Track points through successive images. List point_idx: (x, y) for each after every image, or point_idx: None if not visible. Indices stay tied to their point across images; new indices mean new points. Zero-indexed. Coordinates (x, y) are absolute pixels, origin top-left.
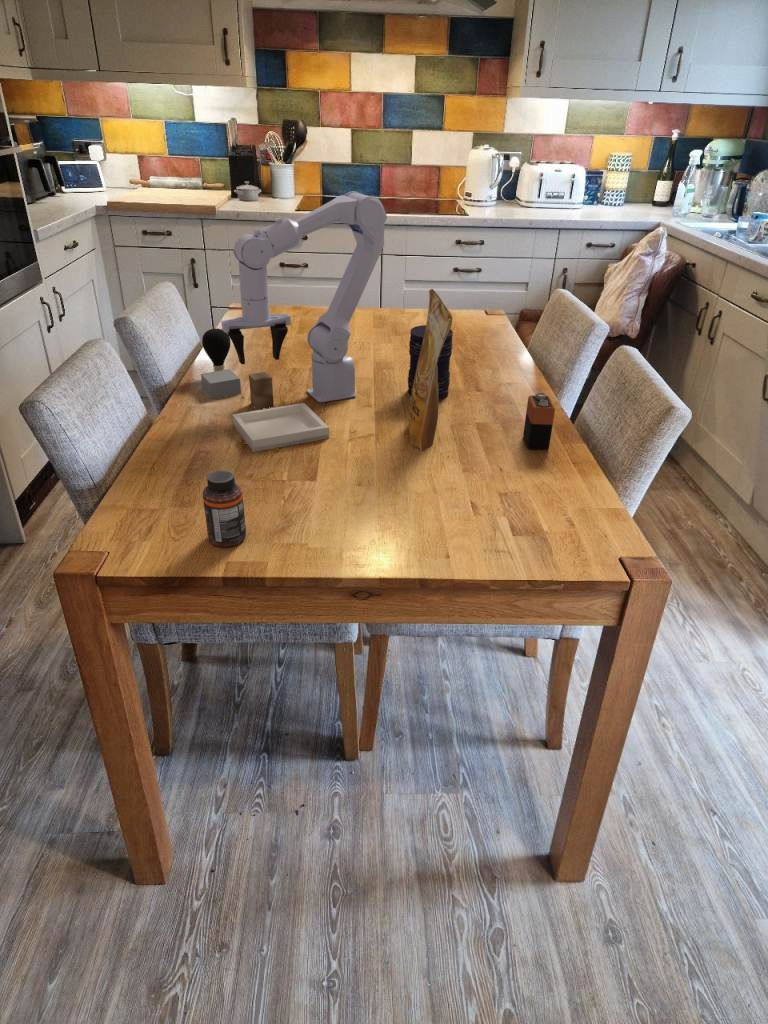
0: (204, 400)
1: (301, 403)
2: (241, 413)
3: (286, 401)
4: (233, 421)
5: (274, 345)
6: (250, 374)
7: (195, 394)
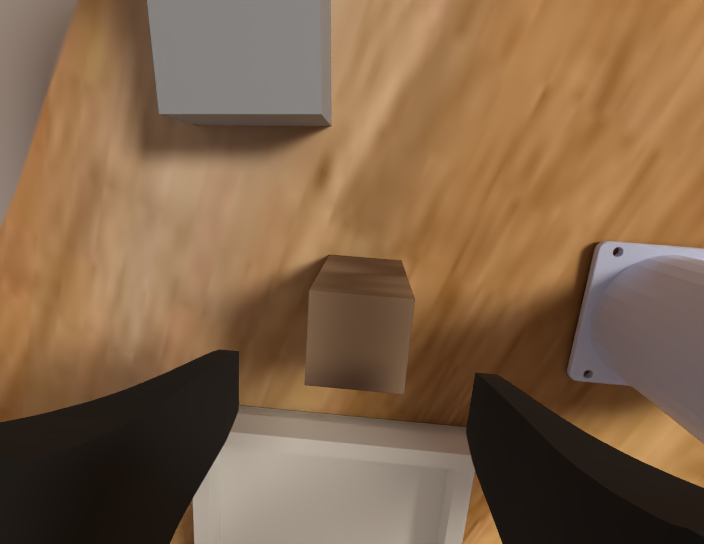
0: (164, 127)
1: (465, 455)
2: None
3: (465, 296)
4: None
5: (511, 473)
6: (316, 297)
7: (141, 32)
